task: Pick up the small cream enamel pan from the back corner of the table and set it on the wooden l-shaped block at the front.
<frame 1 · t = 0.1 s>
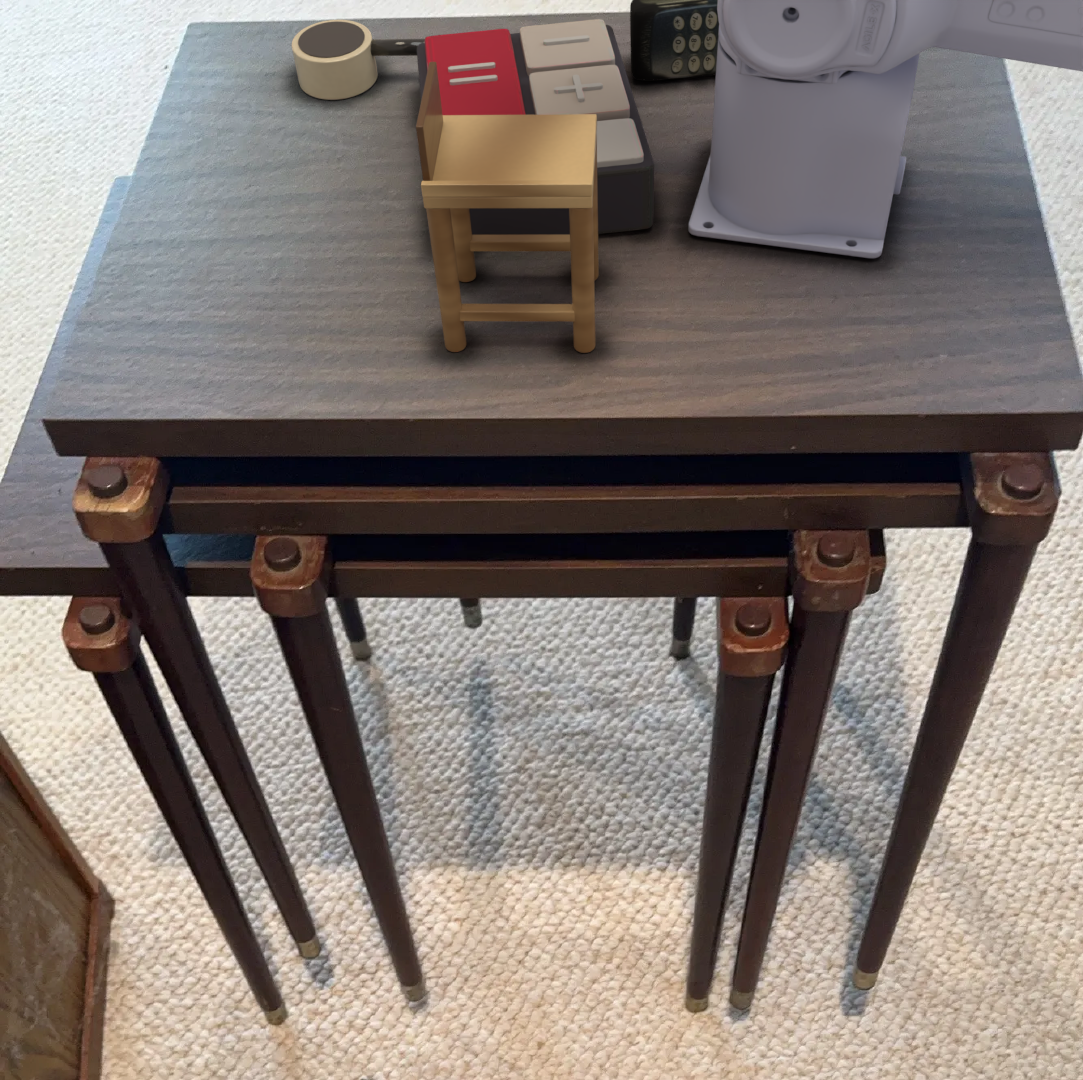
mobile phone: (758, 67, 74), on the table
pan: (338, 78, 75), on the table
calculator: (530, 159, 69), on the table
stand: (523, 309, 61), on the table
wooden l-shaped block: (513, 166, 55), resting on stand
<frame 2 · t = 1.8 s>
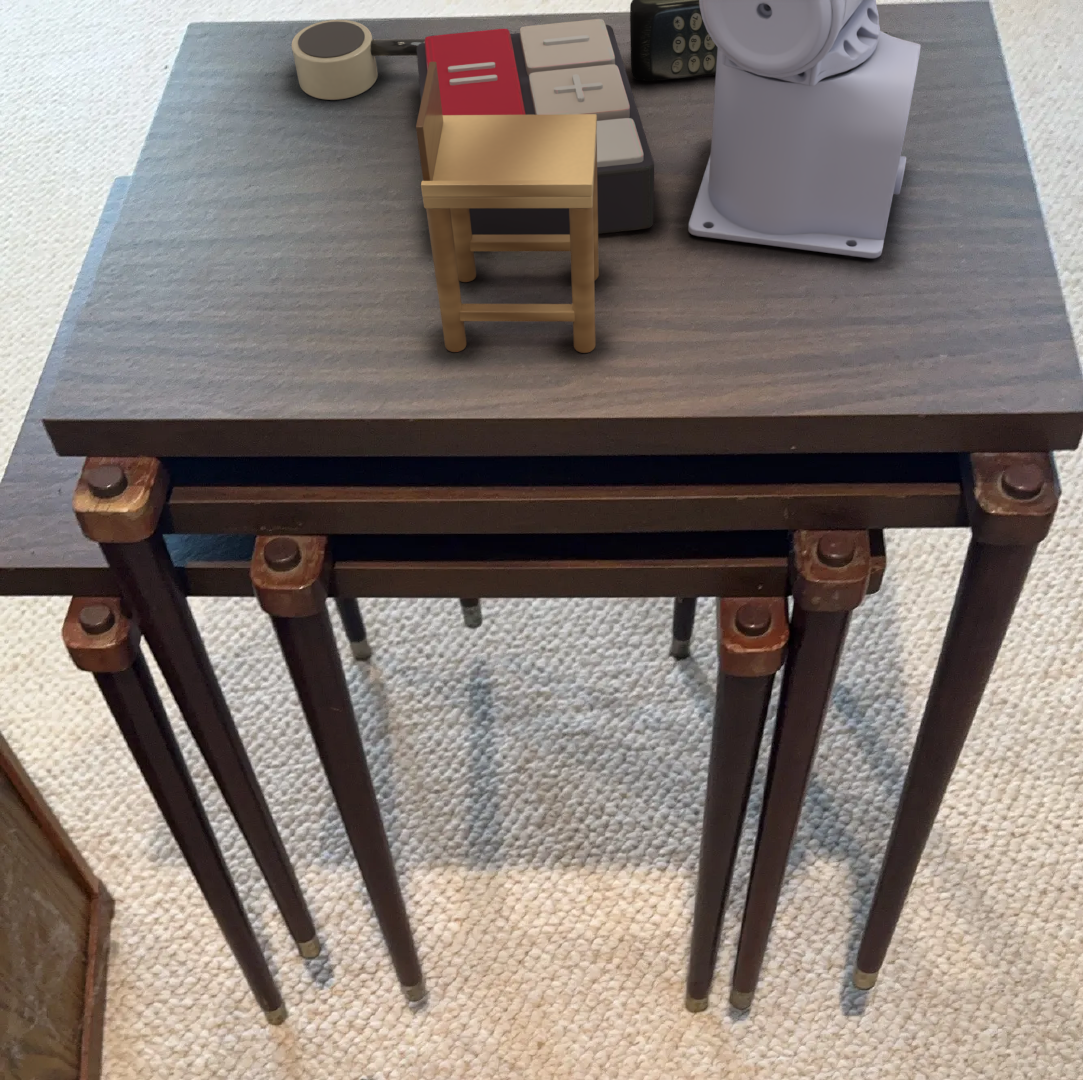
nothing on the table moved.
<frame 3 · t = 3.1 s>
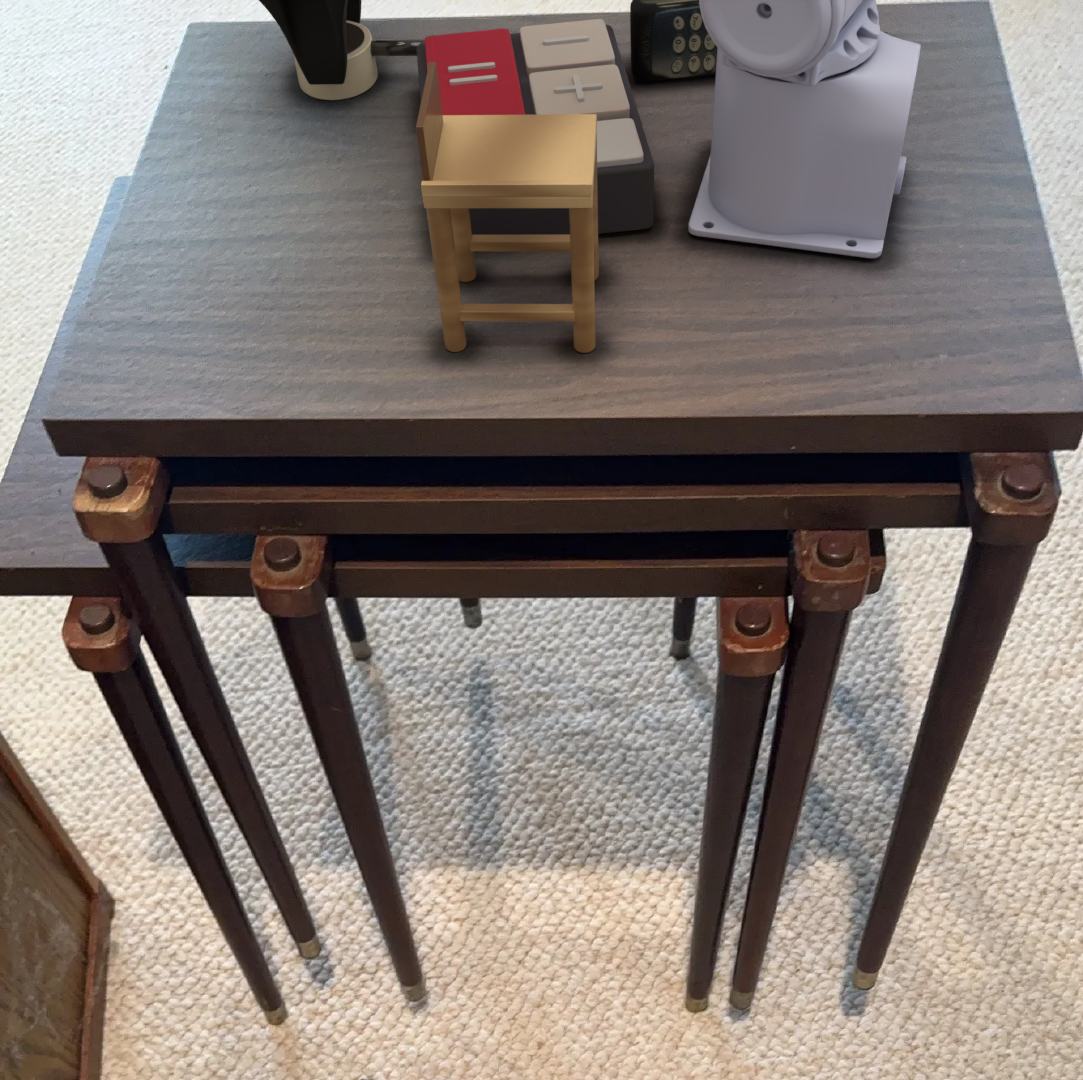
hand: (334, 55, 74), 1 cm above the table, tool pointing down, fingers closed on pan, 4 cm apart
pan: (338, 78, 75), on the table, touching gripper
everything else where it was.
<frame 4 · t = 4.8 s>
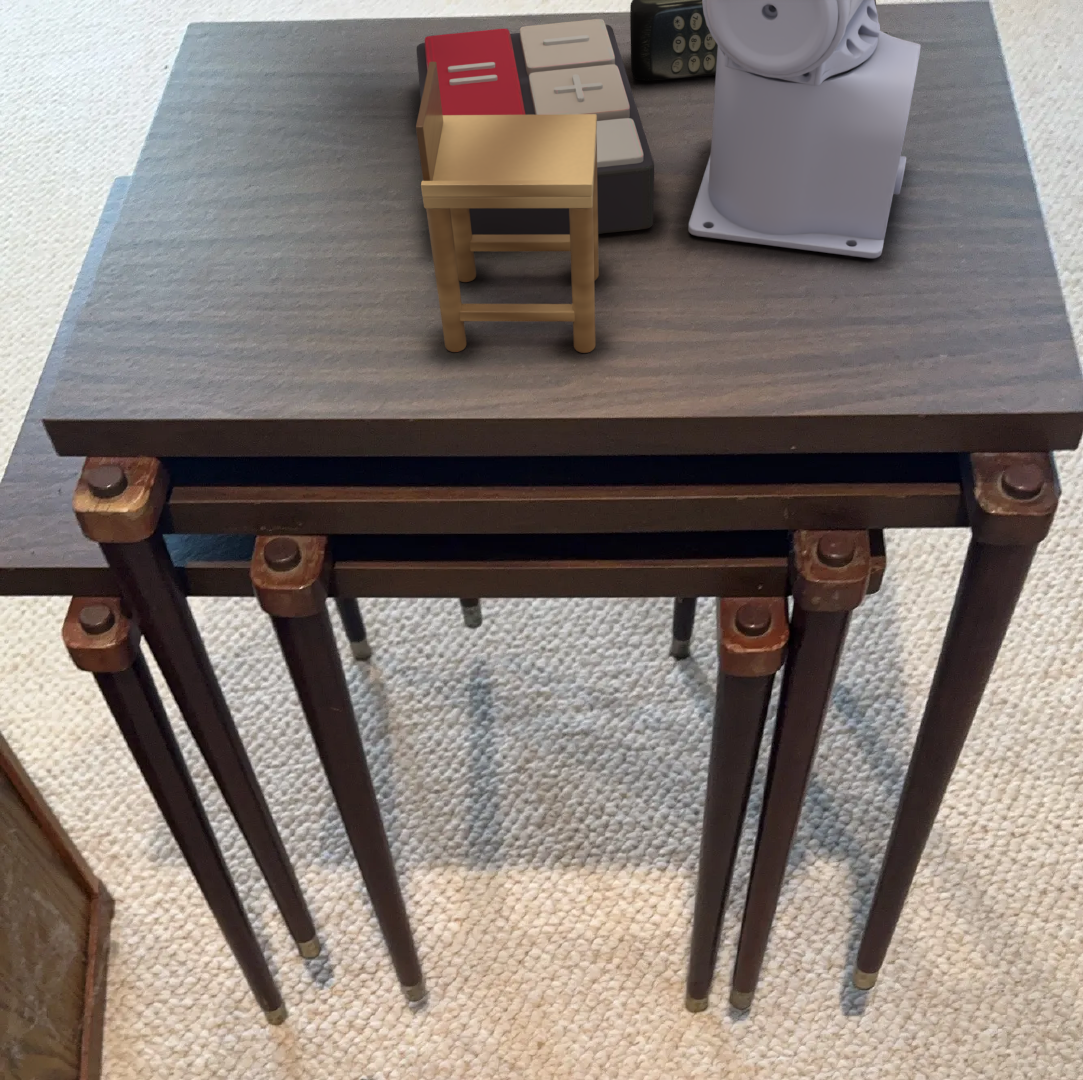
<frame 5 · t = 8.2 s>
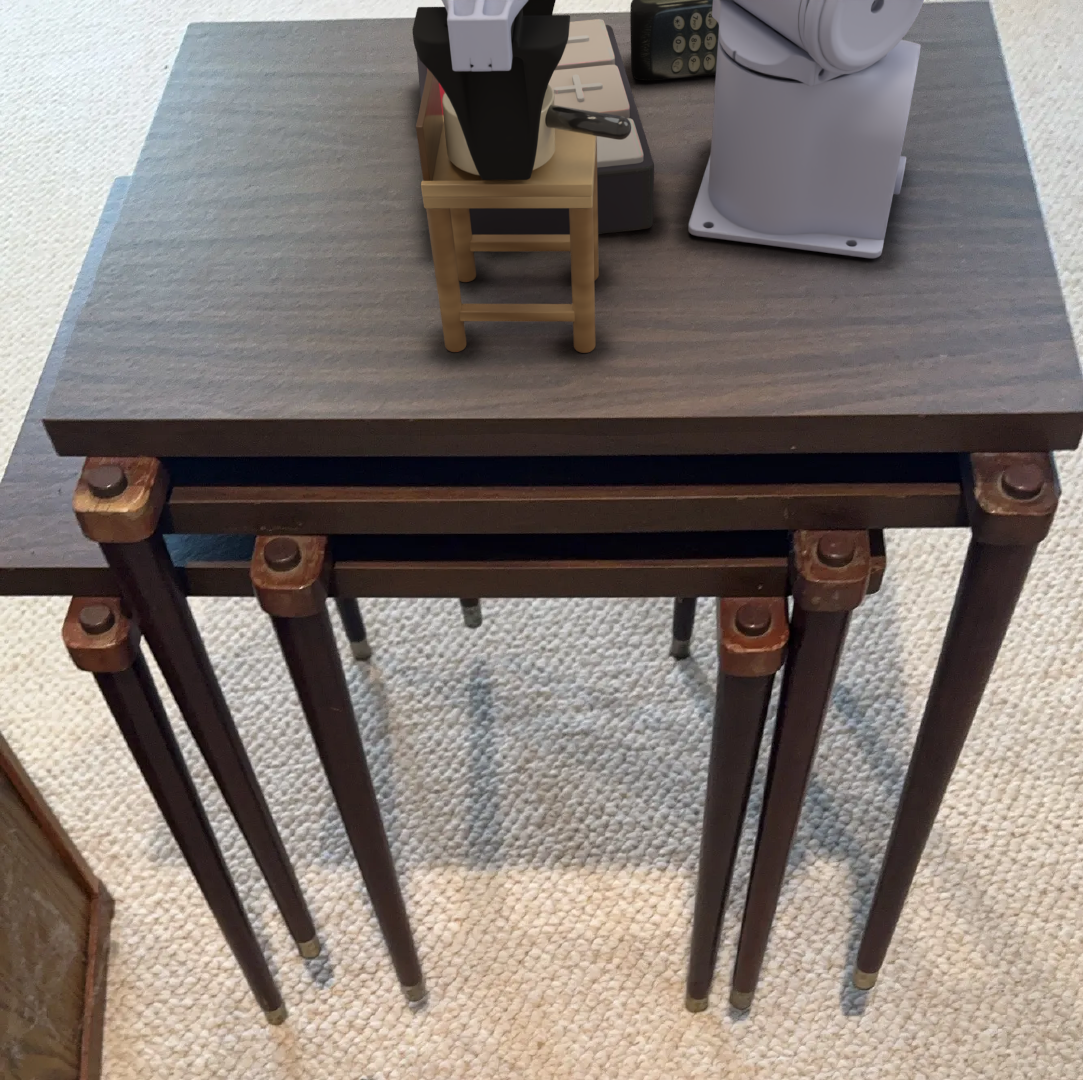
hand: (510, 136, 54), 9 cm above the table, tool pointing down, fingers closed on pan, 5 cm apart
pan: (501, 149, 54), point 9 cm above the table, tilted 5°, touching gripper
everything else where it was.
when the fingers open (9 cm above the table, at t = 8.7 s): pan stays where it is, resting on wooden l-shaped block.
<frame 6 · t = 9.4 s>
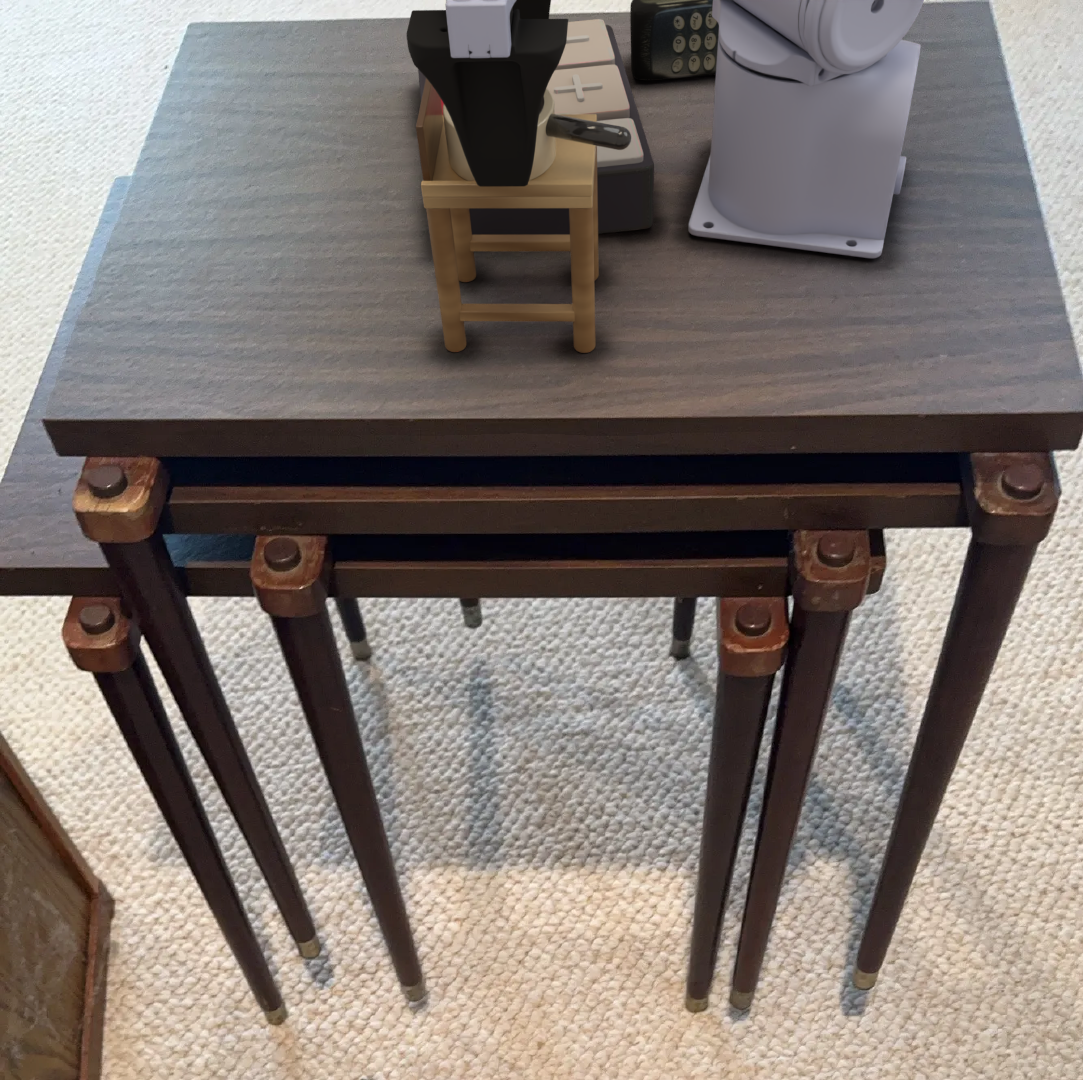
hand: (510, 126, 53), 10 cm above the table, tool pointing down, fingers open, 7 cm apart
pan: (502, 154, 54), point 9 cm above the table, touching wooden l-shaped block
everything else where it was.
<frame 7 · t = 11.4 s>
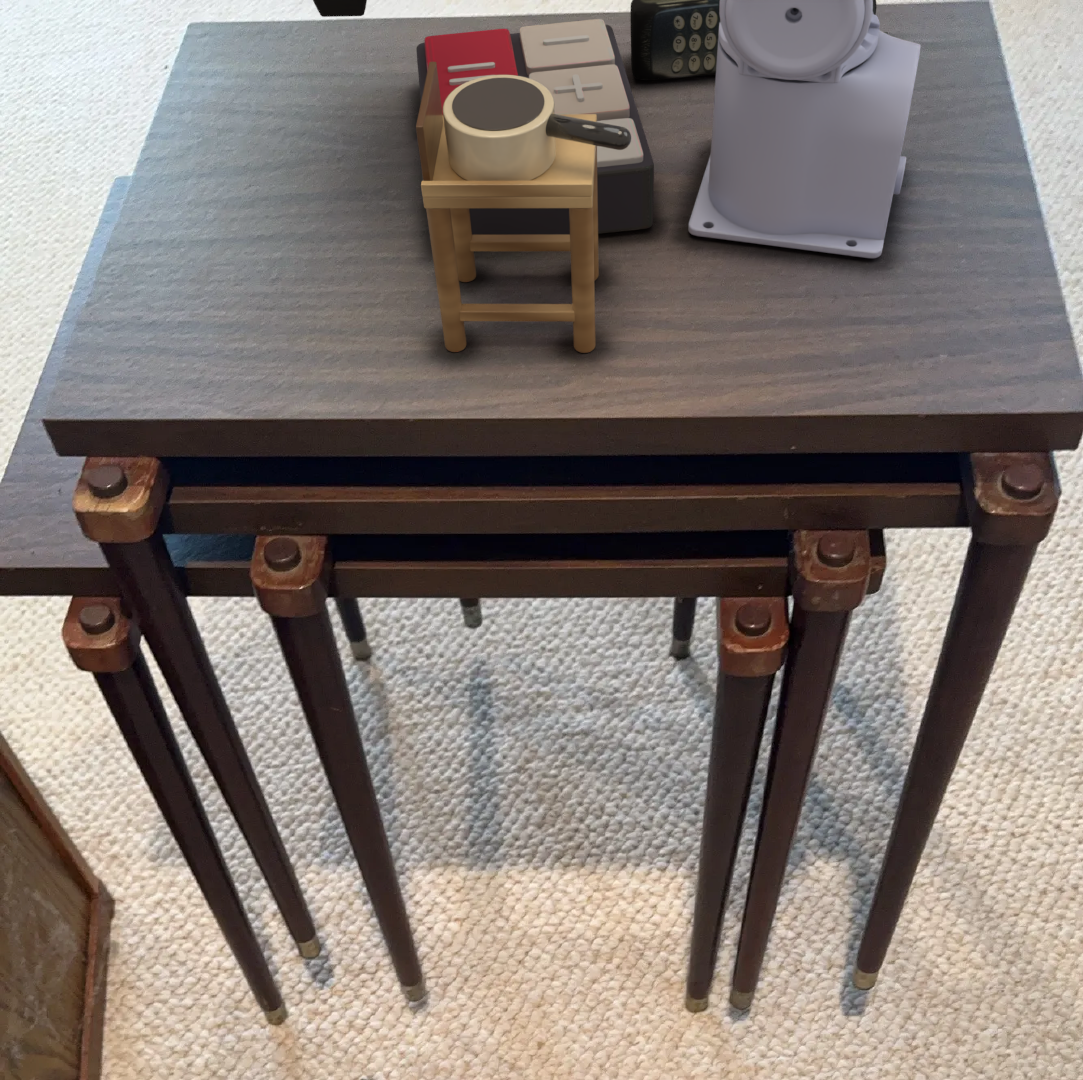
nothing on the table moved.
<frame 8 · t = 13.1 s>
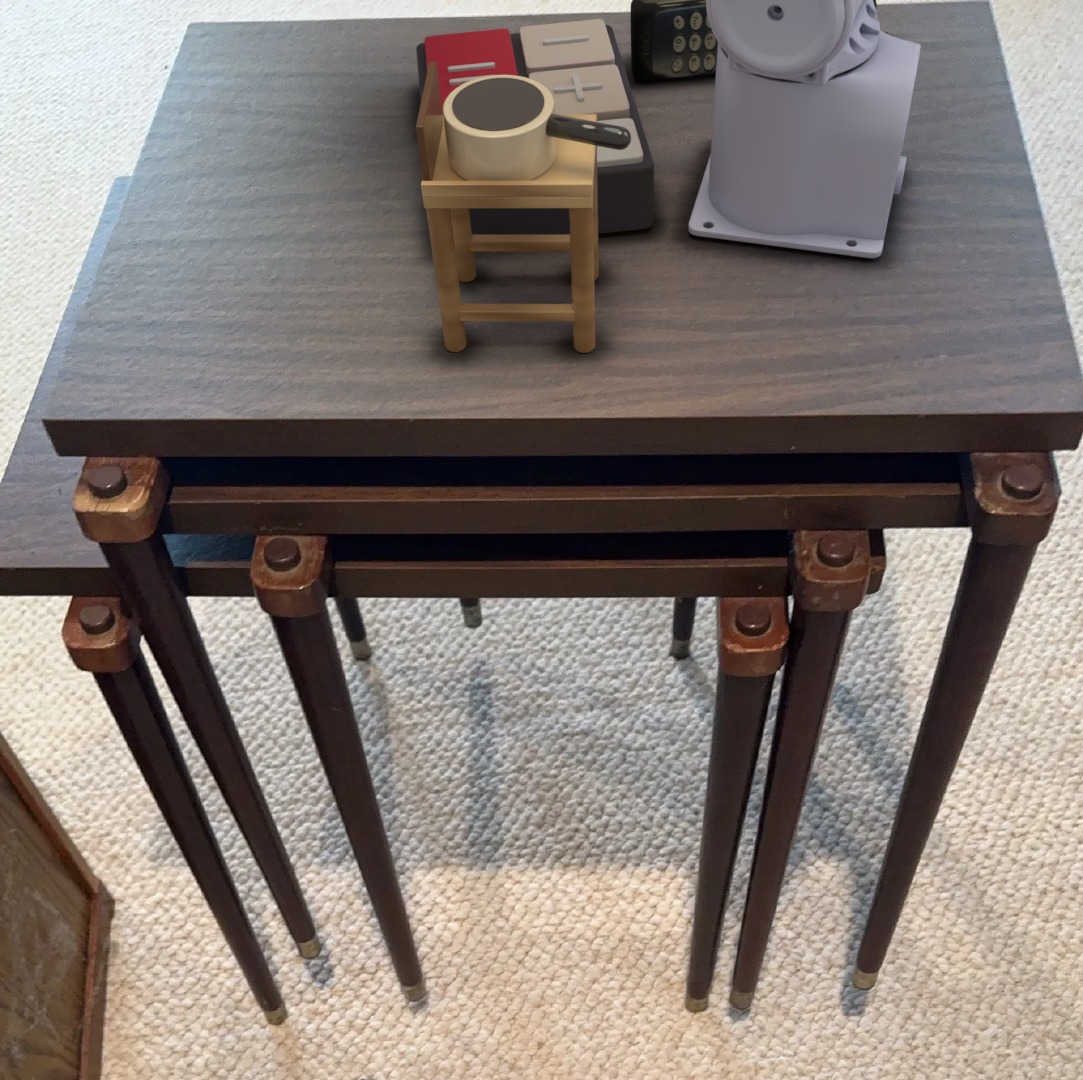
nothing on the table moved.
at the end: pan 0.4 cm off-centre on the wooden l-shaped block, point 0.6 cm above the wooden l-shaped block's base; the gripper is holding nothing; pan touching wooden l-shaped block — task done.
